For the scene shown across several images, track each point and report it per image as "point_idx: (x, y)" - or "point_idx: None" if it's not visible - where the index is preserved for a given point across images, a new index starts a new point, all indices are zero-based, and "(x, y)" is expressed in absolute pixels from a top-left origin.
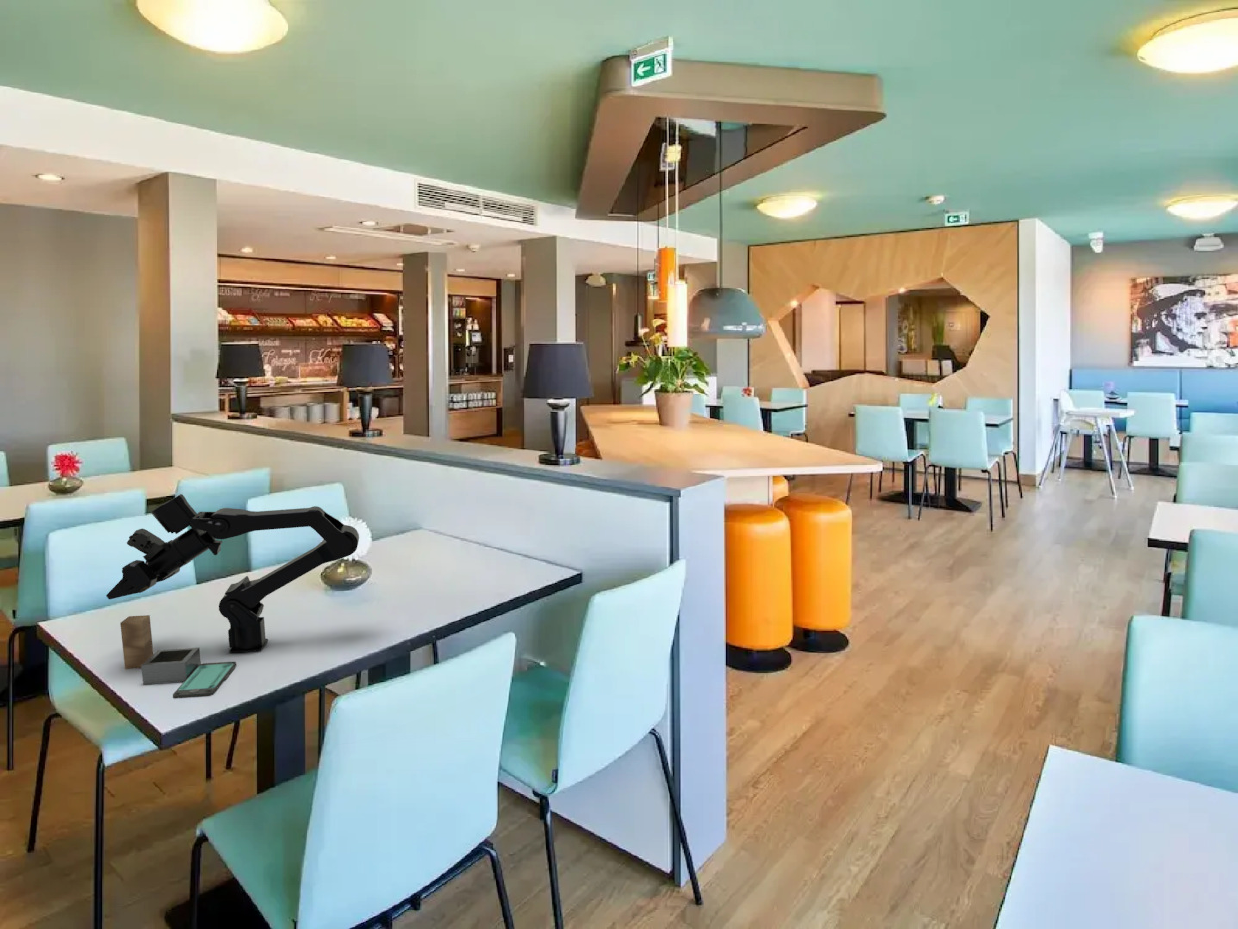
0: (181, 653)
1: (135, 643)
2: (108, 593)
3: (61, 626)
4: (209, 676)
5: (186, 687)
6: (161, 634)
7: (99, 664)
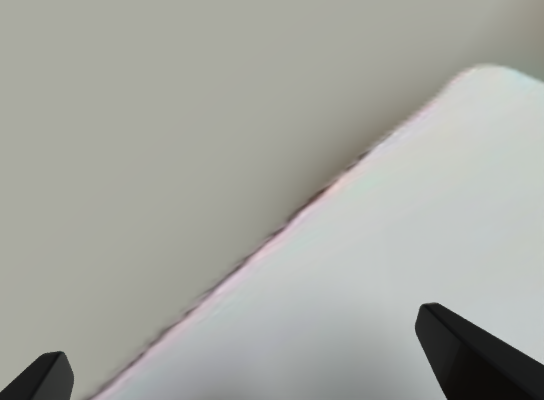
0: None
1: None
2: (11, 383)
3: (478, 91)
4: None
5: None
6: None
7: (237, 308)
